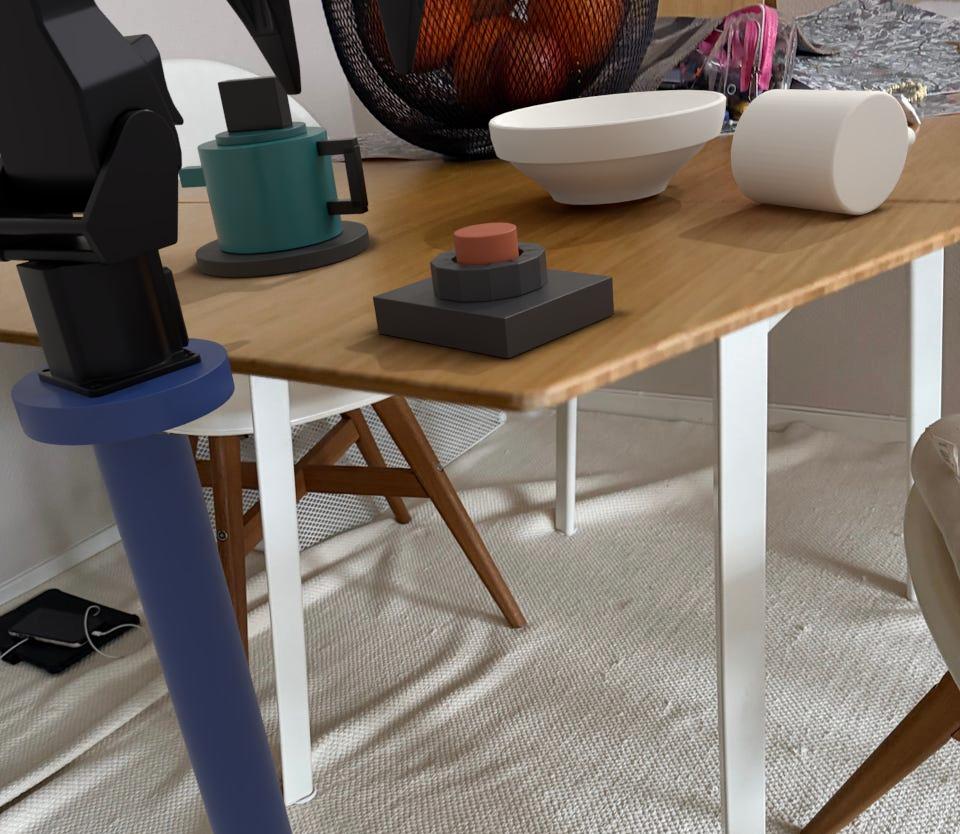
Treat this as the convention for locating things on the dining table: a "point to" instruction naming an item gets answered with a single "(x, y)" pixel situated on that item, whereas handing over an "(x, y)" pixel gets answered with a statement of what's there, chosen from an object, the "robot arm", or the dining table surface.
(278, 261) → the kettle base
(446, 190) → the dining table surface
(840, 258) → the dining table surface
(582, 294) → the switch block
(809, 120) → the mug
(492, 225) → the switch
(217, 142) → the kettle
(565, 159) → the bowl
